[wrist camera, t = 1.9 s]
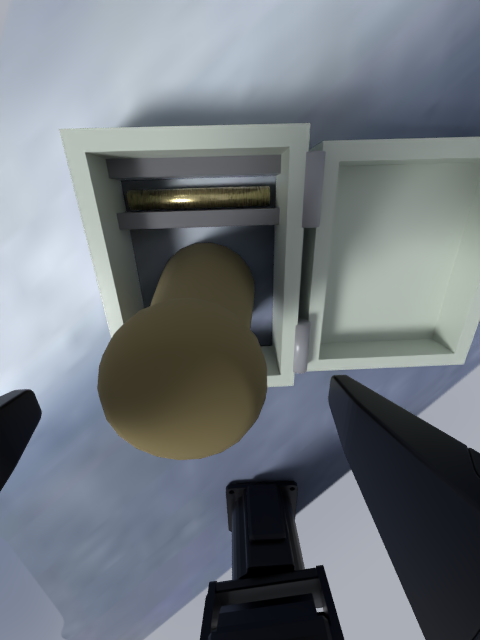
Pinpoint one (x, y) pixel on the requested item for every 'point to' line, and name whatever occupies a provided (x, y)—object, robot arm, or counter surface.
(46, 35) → the counter surface
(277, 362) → the case
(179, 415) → the cork
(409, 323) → the lid
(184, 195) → the rod
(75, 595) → the counter surface
